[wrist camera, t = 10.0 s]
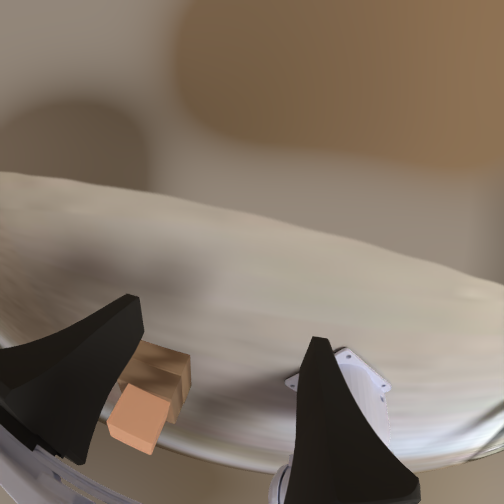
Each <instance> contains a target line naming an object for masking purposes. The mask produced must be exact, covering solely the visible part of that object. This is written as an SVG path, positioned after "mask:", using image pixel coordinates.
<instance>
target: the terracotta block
mask: <svg viewBox="0 0 504 504" xmlns="http://www.w3.org/2000/svg"><path fill="white" fill-rule="evenodd" d="M169 406H170V402H168V401H166V400H163V399H161V398H159V397H157V396H154V395H152V394H150V393H148V392H146V391H144V390H141V389H139V388H137V387H135V386H133V385H131V384H129V383H128V385H127V386H126V388H125V390H124V392H123V393H122V395H121V397H120V399H119V400H118V402H117V404H116V406H115V408H114V409H113V411H112V413H111V415H110V417H109V418H108V420H107V425H108V428H109V431H110V434H111V436H112V437H114V438H116V439H117V440H120V441H121V442H123V443H125V444H127V445H130V446H132V447H134V448H136V449H138V450H140V451H142V452H145V453H147V454H149V455H151V454H152V451H153V449H154V447H155V444H156V442H157V440H158V437H159V435H160V433H161V430H162V428H163V426H164V423H165V421H166V418H167V414H168V410H169Z"/></svg>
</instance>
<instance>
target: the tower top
mask: <svg viewBox="0 0 504 504" xmlns="http://www.w3.org/2000/svg"><path fill="white" fill-rule="evenodd" d="M117 381H118V384H119V387H120V390H121V392H122V393H123V392H124V390H125V388H126V386H127V385H128V383H129V384H131V385H133V386H135V387H137V388H139V389H141V390H144V391H146V392H148V393H150V394H152V395H154V396H157V397H159V398H161V399H163V400H166V401H168V402H170V406H169V410H168V414H167V418H166V421H167V422H170V423H173V424H175V423H176V420H177V418H178V415H179V413H180V410H181V408H182V405H183V396H182V377H181V376H179V375H176V374H173V373H170V372H167V371H164V370H161V369H158V368H155V367H153V366H150V365H147V364H144V363H142V362H139V361H136V360H134V359H130V361H129V362H128V364H127V365H126V367H125V368H124V370H123V372H122V373H121V375H120V376H119V378H118V380H117Z"/></svg>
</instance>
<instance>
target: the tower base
mask: <svg viewBox="0 0 504 504" xmlns="http://www.w3.org/2000/svg"><path fill="white" fill-rule="evenodd" d="M131 359H134V360H136V361H139V362H142V363H144V364H147V365H150V366H153V367H155V368H158V369H161V370H164V371H167V372H170V373H173V374H176V375H179V376H181V377H182V396H183V403H185V400H186V397H187V395H188V392H189V390H190V387H191V367H190V355H188V354H184V353H181V352H177V351H174V350H171V349H167V348H164V347H161V346H158V345H155V344H152V343H149V342H146V341H143V340H140V343H139V345H138V347H137V349H136V351H135V353H134V354H133V356H132V357H131Z"/></svg>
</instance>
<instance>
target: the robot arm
mask: <svg viewBox="0 0 504 504" xmlns="http://www.w3.org/2000/svg"><path fill="white" fill-rule="evenodd" d="M143 334H144V326H143V320H142V313H141V306H140V299H139V297H137V296H134V295H130V294H126V295H124V296H122V297H120V298H118V299H117V300H115V301H113V302H112V303H110V304H108V305H107V306H105V307H103V308H102V309H100V310H98V311H97V312H95V313H93V314H91V315H90V316H88V317H86V318H84V319H83V320H81V321H79V322H77V323H75V324H73V325H71V326H70V327H68V328H66V329H63V330H61V331H59V332H57V333H54V334H52V335H50V336H47V337H45V338H42V339H39V340H36V341H33V342H30V343H26V344H23V345H19V346H14V347H10V348H4V349H0V485H1V486H2V487H3V489H4V490H5V491H6V492H7V493H8V494H9V495H10V496H11V497H12V498H13V499H14V501H15V502H17V504H96V503H95V502H93V501H91V500H90V499H88V498H86V497H85V496H83V495H81V494H80V493H78V492H76V491H74V490H72V489H71V488H69V487H67V486H66V485H64V484H63V483H62V482H61V478H60V476H61V477H62V478H64V479H65V480H67V481H68V482H70V483H72V484H73V485H75V486H77V487H78V488H80V489H82V490H83V491H85V492H87V493H89V494H90V495H92V496H94V497H96V498H98V499H100V500H102V501H103V502H105V503H107V504H143V503H140V502H137V501H135V500H133V499H130V498H128V497H126V496H124V495H121V494H119V493H117V492H115V491H113V490H111V489H109V488H107V487H105V486H103V485H101V484H99V483H97V482H95V481H93V480H92V479H90V478H88V477H86V476H84V475H82V474H81V473H79V472H78V471H76V470H74V469H73V468H71V467H69V466H68V465H66V464H65V463H63V462H62V461H60V460H58V459H57V458H55V455H58V456H59V457H61V458H64V457H65V458H67V459H69V460H70V461H72V462H73V463H75V464H77V465H83V464H85V462H86V457H87V453H88V449H89V445H90V441H91V439H92V435H93V432H94V429H95V426H96V424H97V421H98V418H99V416H100V413H101V411H102V409H103V406H104V404H105V402H106V400H107V397H108V395H109V393H110V391H111V390H112V388H113V386H114V384H115V383H116V381H117V380H118V378H119V376H120V375H121V373H122V372H123V370H124V368H125V367H126V365H127V364H128V362H129V361H130V359H131V357H132V356H133V354H134V353H135V351H136V349H137V347H138V345H139V343H140V340H141V338H142V336H143ZM347 355H349V356H347ZM285 385H286V386H288V387H289V388H291V389H292V390H294V391H295V392H297V411H296V440H295V449H294V454H292V455H290V456H289V464H286V465H283V466H282V467H280V469H279V470H278V471H277V473H276V474H275V475H274V477H273V478H272V481H271V484H270V488H269V497H268V499H269V504H418V503H419V502H420V501H421V495H420V484H419V478H418V477H416V476H415V475H414V474H413V473H412V472H411V471H410V470H409V469H408V468H406V467H405V466H404V465H403V464H402V463H401V462H400V461H399V460H398V459H397V458H396V457H395V456H394V453H393V452H392V451H390V450H389V449H388V448H387V447H388V445H389V442H390V437H391V432H390V424H389V417H388V410H387V404H386V397H385V393H386V392H388V391H389V390H391V388H392V387H391V384H389V383H388V382H387V381H386V380H385V379H384V378H382V377H381V376H380V375H379V374H378V373H377V372H375V371H374V370H373V369H372V368H371V367H370V366H368V365H367V364H366V363H365V362H364V361H363V360H362V359H360V358H359V357H358V356H357V355H356V354H355V353H353V352H352V351H351V350H350V349H348V348H344V349H342V350H340V351H338V352H336V353H335V354H334V353H333V350H332V347H331V345H330V342H329V340H328V339H327V338H321V337H314V336H312V339H311V342H310V344H309V347H308V349H307V352H306V354H305V357H304V359H303V362H302V364H301V367H300V371H299V373H298V374H296V375H294V376H292V377H290V378H288V379H286V380H285Z"/></svg>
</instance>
